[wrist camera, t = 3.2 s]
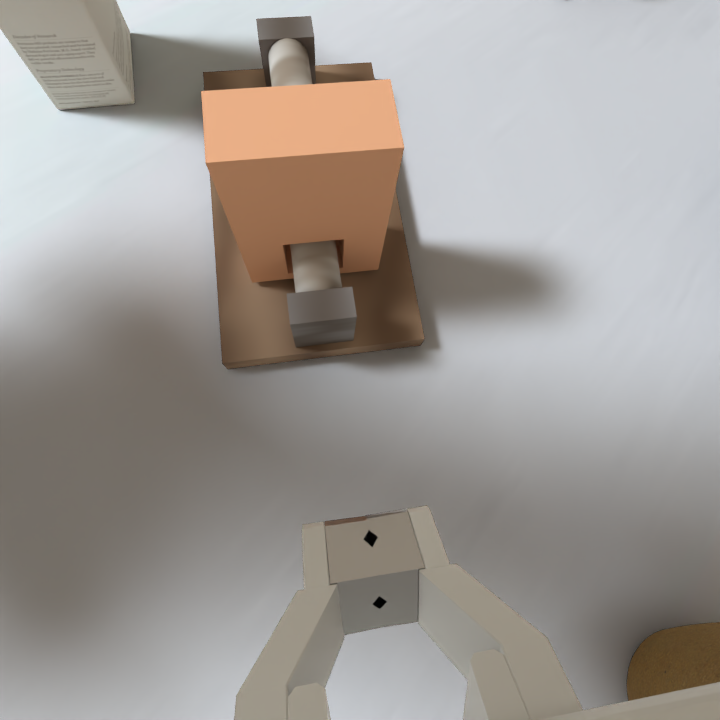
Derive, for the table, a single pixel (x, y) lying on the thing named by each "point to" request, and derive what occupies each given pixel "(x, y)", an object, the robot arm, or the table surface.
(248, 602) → the table surface
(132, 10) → the table surface
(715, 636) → the plant pot
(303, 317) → the pipe stand
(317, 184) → the notched orange block
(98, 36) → the skincare box
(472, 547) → the table surface
